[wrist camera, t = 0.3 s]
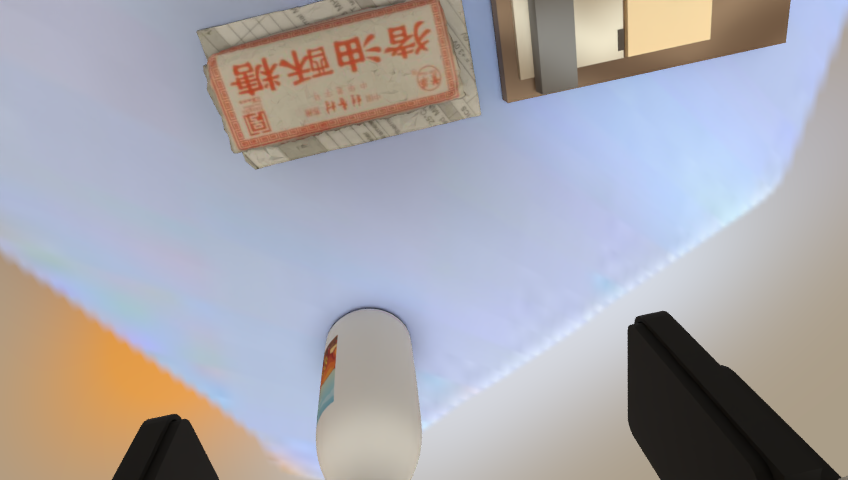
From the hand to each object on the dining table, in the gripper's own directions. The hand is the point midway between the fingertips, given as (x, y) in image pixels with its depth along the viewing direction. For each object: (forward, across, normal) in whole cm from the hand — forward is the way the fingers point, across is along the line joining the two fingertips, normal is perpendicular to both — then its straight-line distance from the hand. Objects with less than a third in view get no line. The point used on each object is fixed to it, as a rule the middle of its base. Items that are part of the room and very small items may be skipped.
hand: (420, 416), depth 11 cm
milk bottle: (+31, +5, +19) cm, 37 cm away
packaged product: (+31, +2, -4) cm, 31 cm away
